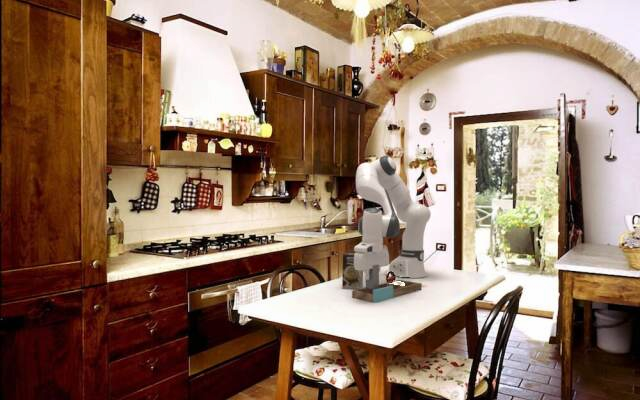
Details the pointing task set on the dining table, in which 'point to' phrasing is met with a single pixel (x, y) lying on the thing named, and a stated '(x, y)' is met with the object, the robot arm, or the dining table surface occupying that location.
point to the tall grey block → (373, 278)
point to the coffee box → (351, 273)
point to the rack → (386, 291)
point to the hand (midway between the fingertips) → (372, 278)
